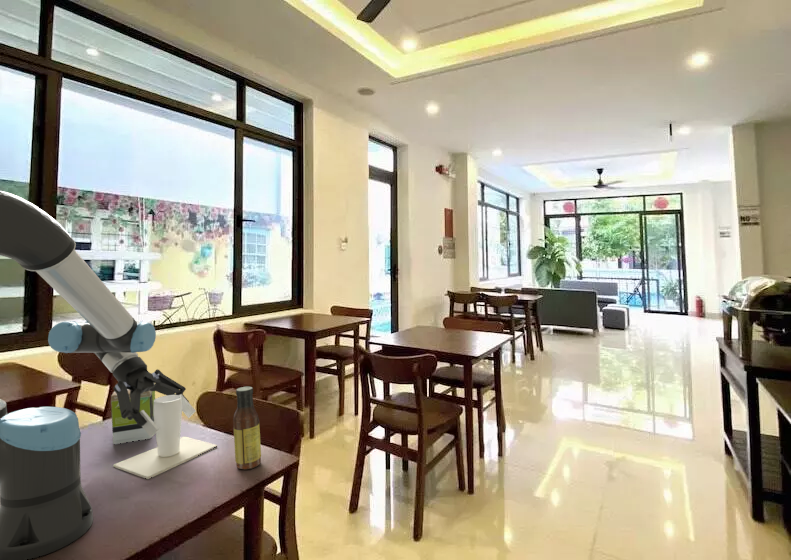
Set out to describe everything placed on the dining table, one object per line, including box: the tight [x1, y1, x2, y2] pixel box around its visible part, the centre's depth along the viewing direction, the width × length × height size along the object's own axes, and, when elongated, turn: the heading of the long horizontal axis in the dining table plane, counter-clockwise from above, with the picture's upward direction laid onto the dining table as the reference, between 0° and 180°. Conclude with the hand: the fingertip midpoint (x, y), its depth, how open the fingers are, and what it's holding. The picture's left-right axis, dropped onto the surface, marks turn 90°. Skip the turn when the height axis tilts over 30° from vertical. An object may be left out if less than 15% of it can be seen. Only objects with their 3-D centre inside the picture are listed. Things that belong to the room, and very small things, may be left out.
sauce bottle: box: [232, 386, 262, 471], centre depth 107 cm, size 6×6×20 cm
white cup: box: [153, 395, 183, 457], centre depth 113 cm, size 7×7×15 cm
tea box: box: [110, 383, 156, 445], centre depth 129 cm, size 15×10×15 cm, turn 25°
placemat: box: [112, 436, 218, 480], centre depth 113 cm, size 20×14×1 cm
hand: (174, 423), depth 112 cm, fingers open, 13 cm apart
